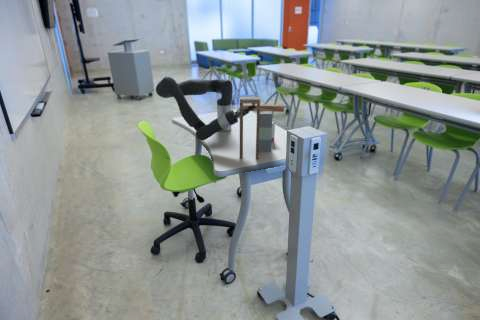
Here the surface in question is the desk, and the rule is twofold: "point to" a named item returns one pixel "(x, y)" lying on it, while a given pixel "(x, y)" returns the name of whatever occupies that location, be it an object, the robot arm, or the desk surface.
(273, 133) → the ink box
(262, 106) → the terracotta bar
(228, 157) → the desk surface
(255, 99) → the walnut stand
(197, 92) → the robot arm
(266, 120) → the block tower
